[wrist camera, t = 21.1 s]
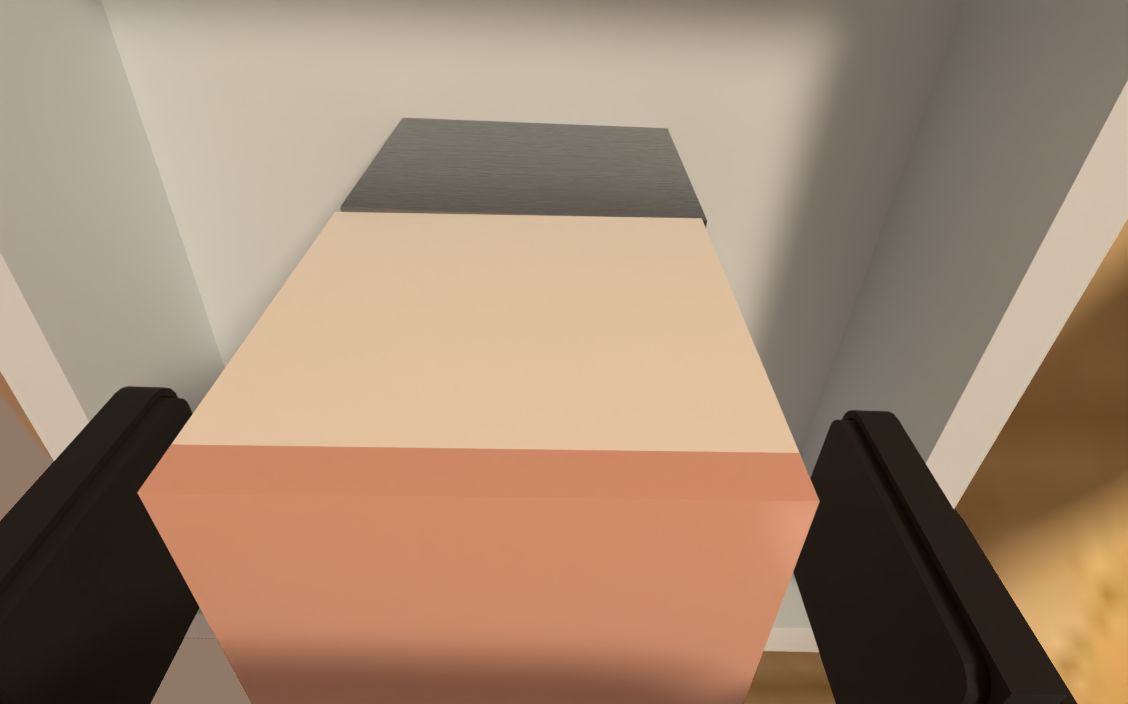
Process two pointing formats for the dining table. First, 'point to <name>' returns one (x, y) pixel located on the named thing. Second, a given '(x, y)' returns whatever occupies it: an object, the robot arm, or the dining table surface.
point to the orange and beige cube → (491, 471)
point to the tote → (581, 97)
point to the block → (526, 171)
